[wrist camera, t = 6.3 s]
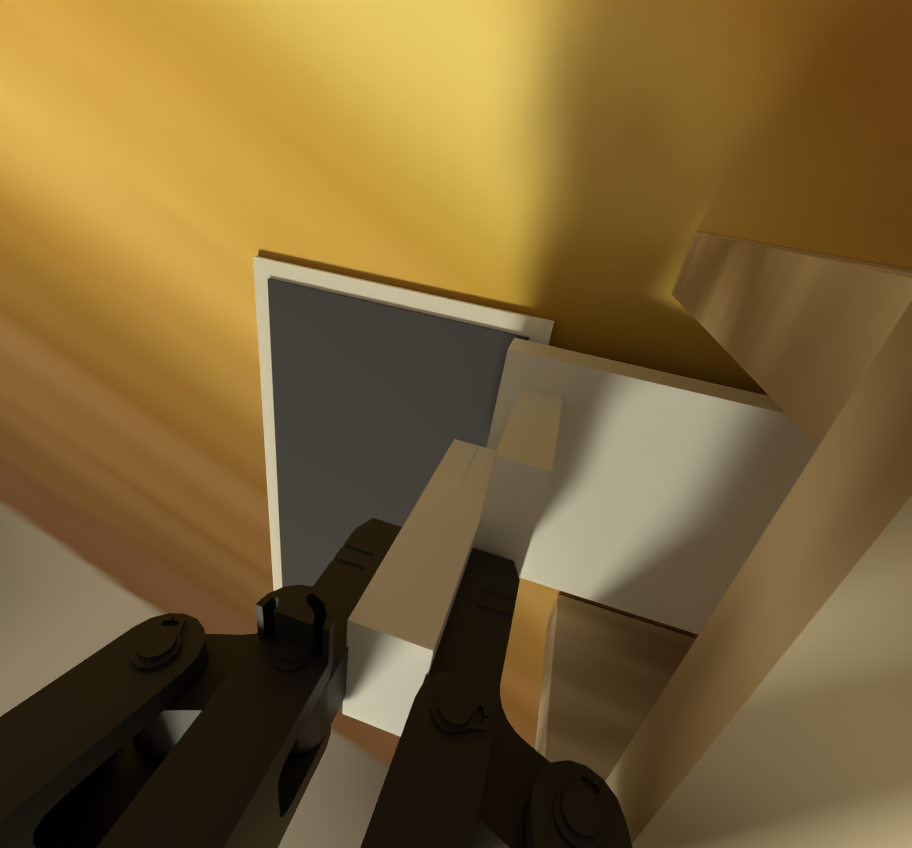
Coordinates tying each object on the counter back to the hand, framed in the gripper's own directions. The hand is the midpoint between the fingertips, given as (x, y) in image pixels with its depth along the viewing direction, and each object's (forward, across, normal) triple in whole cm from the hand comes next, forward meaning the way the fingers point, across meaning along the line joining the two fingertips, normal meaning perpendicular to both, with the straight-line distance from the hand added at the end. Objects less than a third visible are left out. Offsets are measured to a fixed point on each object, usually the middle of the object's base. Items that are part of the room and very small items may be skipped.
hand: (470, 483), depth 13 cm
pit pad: (+3, -4, -4) cm, 6 cm away
